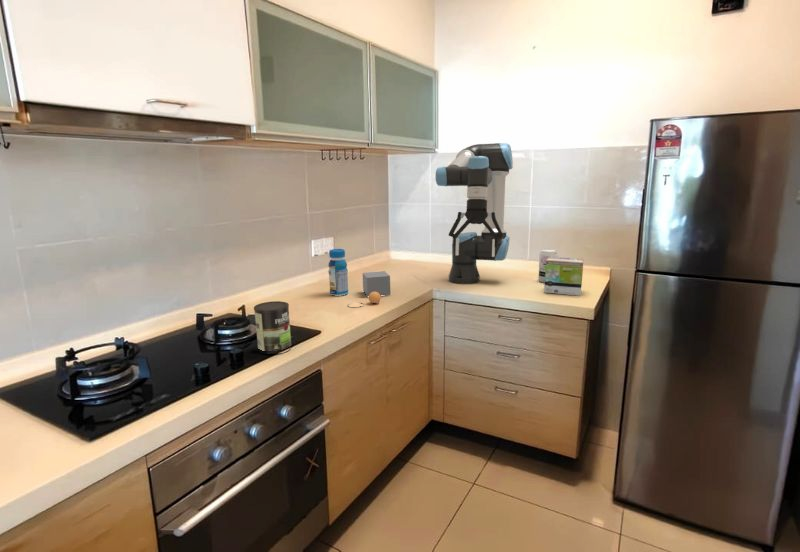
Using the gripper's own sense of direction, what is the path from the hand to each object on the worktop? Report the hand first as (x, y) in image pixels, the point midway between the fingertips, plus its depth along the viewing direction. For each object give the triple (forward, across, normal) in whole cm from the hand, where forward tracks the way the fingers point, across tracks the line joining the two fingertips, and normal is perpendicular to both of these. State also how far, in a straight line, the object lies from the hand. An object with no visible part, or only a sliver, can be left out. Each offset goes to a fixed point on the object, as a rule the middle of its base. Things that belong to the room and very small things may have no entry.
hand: (474, 256), depth 174 cm
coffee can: (+29, -54, -51) cm, 80 cm away
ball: (+19, -41, +3) cm, 45 cm away
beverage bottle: (+20, -61, +14) cm, 66 cm away
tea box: (+16, +34, +37) cm, 53 cm away
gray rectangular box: (+19, -45, +18) cm, 52 cm away
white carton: (+14, +28, +55) cm, 63 cm away
